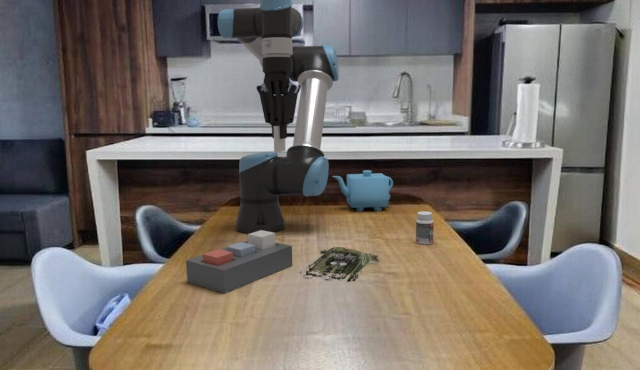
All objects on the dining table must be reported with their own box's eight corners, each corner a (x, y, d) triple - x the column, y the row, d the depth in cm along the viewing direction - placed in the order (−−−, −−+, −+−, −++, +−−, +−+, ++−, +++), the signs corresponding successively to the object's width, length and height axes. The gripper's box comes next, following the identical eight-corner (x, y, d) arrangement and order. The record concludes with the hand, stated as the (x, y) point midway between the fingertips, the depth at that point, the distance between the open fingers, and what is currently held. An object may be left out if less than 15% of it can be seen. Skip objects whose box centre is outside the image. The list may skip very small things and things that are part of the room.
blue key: (227, 263, 123) (226, 246, 122) (241, 258, 126) (240, 242, 126) (241, 267, 120) (240, 249, 119) (255, 261, 124) (255, 245, 123)
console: (187, 281, 119) (186, 260, 118) (256, 257, 136) (255, 238, 135) (224, 293, 111) (223, 270, 111) (292, 265, 129) (291, 245, 128)
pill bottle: (433, 245, 144) (433, 215, 143) (415, 244, 145) (416, 214, 144) (433, 240, 149) (433, 211, 148) (416, 239, 150) (416, 210, 149)
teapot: (389, 204, 198) (389, 167, 195) (396, 211, 187) (396, 172, 184) (330, 206, 196) (329, 169, 193) (333, 213, 185) (333, 173, 182)
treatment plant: (373, 286, 116) (373, 270, 115) (292, 282, 119) (292, 266, 118) (381, 253, 140) (381, 239, 139) (314, 250, 143) (313, 237, 143)
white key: (248, 250, 128) (247, 234, 127) (261, 245, 132) (261, 230, 131) (262, 253, 125) (262, 237, 125) (275, 248, 129) (275, 232, 128)
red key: (203, 271, 117) (202, 254, 117) (219, 266, 121) (218, 249, 120) (218, 275, 115) (217, 257, 114) (233, 269, 118) (233, 252, 118)
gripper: (247, 57, 133) (251, 151, 137) (287, 54, 126) (290, 154, 130) (268, 58, 139) (270, 148, 143) (307, 56, 132) (309, 151, 136)
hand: (279, 151), depth 137 cm, fingers closed
